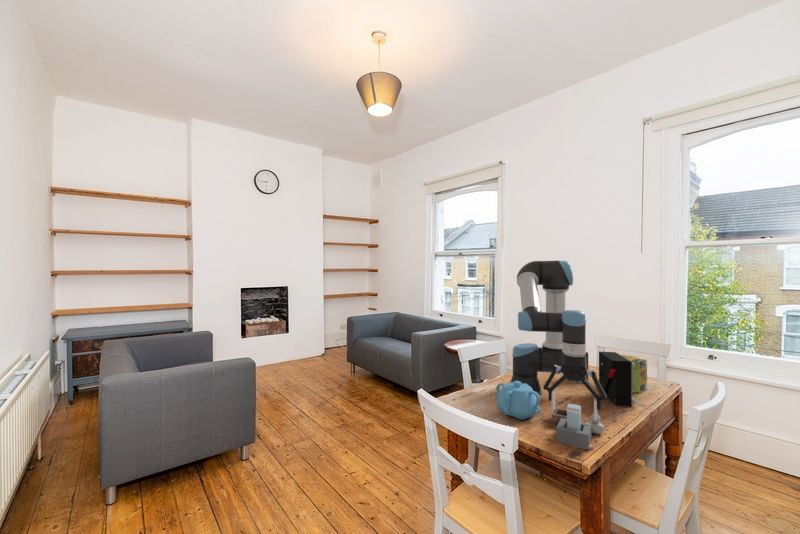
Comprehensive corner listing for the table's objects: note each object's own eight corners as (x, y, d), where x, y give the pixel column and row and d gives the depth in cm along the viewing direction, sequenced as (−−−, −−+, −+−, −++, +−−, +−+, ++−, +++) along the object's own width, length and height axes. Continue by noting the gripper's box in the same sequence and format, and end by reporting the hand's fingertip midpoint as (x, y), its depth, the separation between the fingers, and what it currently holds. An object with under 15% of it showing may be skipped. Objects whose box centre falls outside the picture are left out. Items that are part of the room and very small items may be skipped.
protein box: (640, 393, 172) (640, 361, 172) (606, 385, 184) (606, 355, 184) (647, 389, 178) (647, 358, 178) (614, 381, 190) (614, 352, 190)
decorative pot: (500, 421, 141) (500, 387, 141) (494, 405, 157) (494, 375, 157) (542, 423, 139) (542, 389, 139) (532, 407, 155) (532, 376, 155)
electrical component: (636, 407, 155) (636, 361, 155) (611, 405, 157) (611, 360, 157) (620, 393, 172) (620, 352, 172) (597, 392, 174) (597, 351, 175)
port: (556, 442, 124) (556, 426, 124) (561, 431, 133) (561, 416, 133) (588, 450, 119) (588, 434, 119) (591, 438, 127) (591, 423, 127)
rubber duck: (585, 433, 131) (585, 411, 131) (590, 427, 136) (590, 406, 136) (601, 437, 127) (601, 415, 127) (606, 431, 132) (606, 410, 132)
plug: (568, 436, 129) (568, 403, 129) (581, 439, 126) (581, 405, 126) (566, 440, 125) (566, 407, 125) (579, 444, 123) (579, 409, 123)
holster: (551, 424, 138) (551, 414, 138) (555, 417, 145) (555, 407, 145) (574, 429, 134) (574, 419, 134) (577, 421, 140) (577, 411, 140)
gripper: (534, 351, 130) (534, 409, 129) (614, 361, 116) (614, 426, 116) (539, 348, 136) (539, 403, 136) (615, 356, 122) (615, 418, 122)
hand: (573, 414), depth 126 cm, fingers open, 13 cm apart
